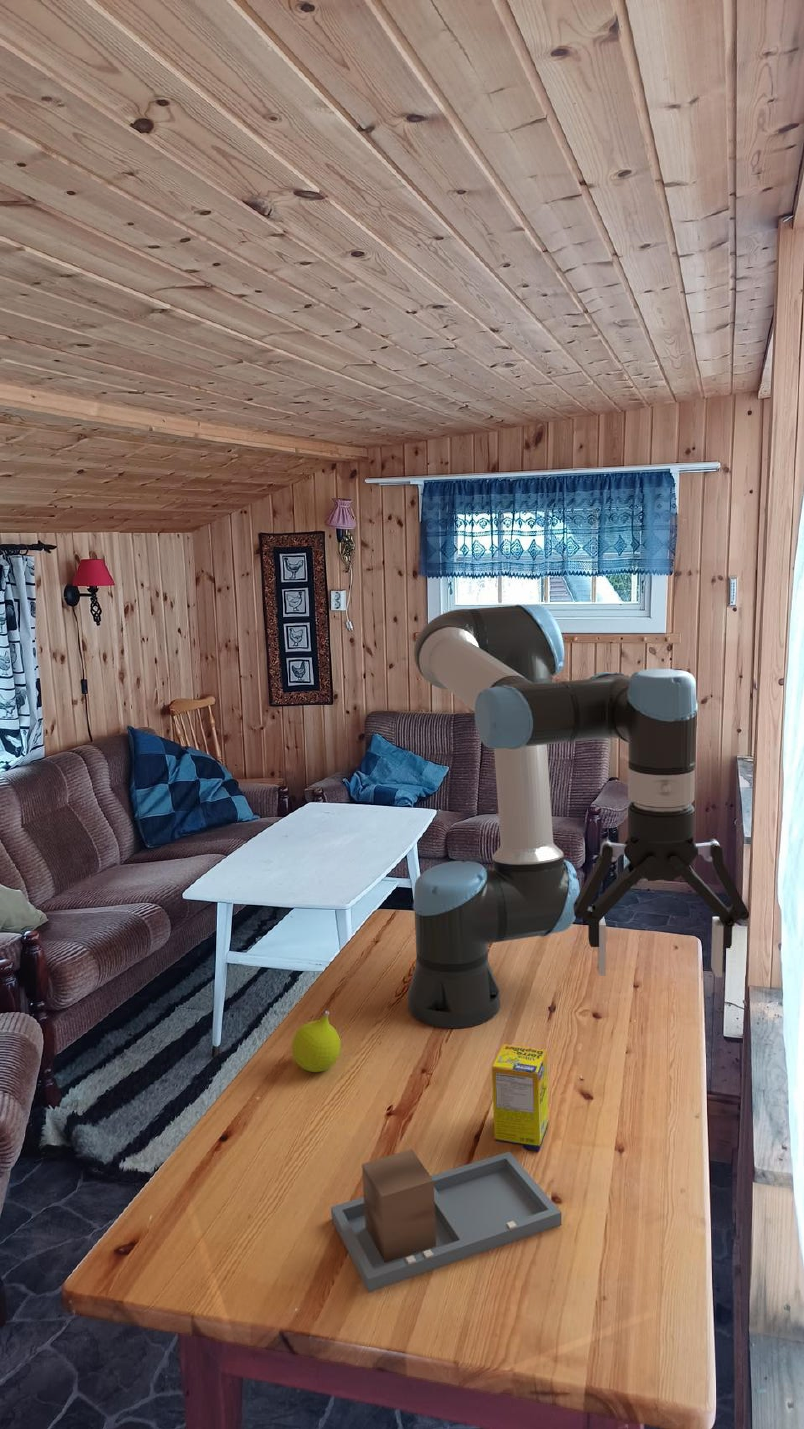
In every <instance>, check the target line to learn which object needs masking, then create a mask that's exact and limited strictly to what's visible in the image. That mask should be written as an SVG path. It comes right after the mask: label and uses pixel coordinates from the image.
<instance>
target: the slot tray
mask: <svg viewBox="0 0 804 1429" xmlns="http://www.w3.org/2000/svg"><path fill="white" fill-rule="evenodd" d="M430 1176H431V1177H432V1179H433V1180H434V1203H435V1228H436V1246H434V1247H431V1248H428V1249H425V1250H422V1251H419V1252H416V1253H413V1254H411V1255H408V1256H405V1257H402V1258H399V1259H396V1260H393V1261H390V1262H387V1263H385V1262H384V1260H383V1258H382V1257H381V1255H380V1253H379V1251H378V1249H377V1247H376V1246H375V1244H374V1242H373V1240H372V1238H371V1236H370V1235H369V1233H368V1231H367V1229H366V1226H365V1208H364V1196H362V1197H359V1198H356V1199H353V1200H350V1201H346V1202H343V1203H340V1204H337V1205H334V1206H330V1208H331V1209H330V1211H331V1221H332V1223H333V1225H334V1227H335V1229H336V1231H337V1232H338V1235H339V1237H340V1238H341V1241H342V1242H343V1244H344V1246H345V1248H346V1250H347V1253H348V1254H349V1256H350V1258H351V1260H352V1262H353V1264H354V1266H355V1268H356V1270H357V1272H358V1274H359V1276H360V1278H361V1279H362V1281H363V1283H364V1286H365V1288H366V1290H367V1292H368V1293H371V1292H374V1291H377V1290H379V1289H382V1288H385V1287H388V1286H391V1285H393V1284H397V1283H399V1282H402V1281H406V1280H408V1279H411V1278H413V1277H417V1276H419V1275H423V1274H425V1273H428V1272H431V1271H433V1270H436V1269H440V1268H442V1267H444V1266H448V1265H451V1264H453V1263H456V1262H460V1261H463V1260H465V1259H469V1258H470V1257H474V1256H476V1255H479V1254H482V1253H484V1252H489V1251H491V1250H493V1249H496V1248H499V1247H501V1246H505V1245H508V1244H510V1243H513V1242H516V1241H519V1240H522V1239H525V1238H527V1237H531V1236H533V1235H536V1234H539V1233H542V1232H544V1231H547V1230H550V1229H554V1228H556V1227H559V1226H561V1225H562V1211H561V1210H560V1209H559V1208H558V1206H556V1204H555V1203H554V1202H553V1201H552V1200H551V1198H550V1197H549V1196H548V1195H547V1194H546V1193H545V1191H544V1190H543V1189H542V1188H541V1187H540V1185H538V1183H537V1182H536V1181H535V1180H534V1178H533V1177H532V1176H531V1175H530V1174H529V1173H528V1171H527V1170H526V1169H525V1168H524V1166H522V1164H521V1163H520V1162H519V1161H518V1160H517V1158H515V1156H514V1155H513V1154H512V1152H511V1151H507V1152H503V1153H500V1154H496V1155H494V1156H490V1157H487V1158H483V1159H481V1160H478V1161H475V1162H470V1163H468V1164H465V1165H461V1166H459V1167H456V1168H452V1169H449V1170H445V1171H441V1172H439V1173H436V1174H433V1175H430Z"/></svg>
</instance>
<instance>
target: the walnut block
mask: <svg viewBox="0 0 804 1429" xmlns="http://www.w3.org/2000/svg"><path fill="white" fill-rule="evenodd" d="M361 1167H362V1169H361V1170H362V1171H361V1172H362V1185H363V1187H362V1188H363V1197H364V1208H365V1226H366V1229H367V1231H368V1233H369V1235H370V1236H371V1238H372V1240H373V1242H374V1244H375V1246H376V1247H377V1249H378V1251H379V1253H380V1255H381V1257H382V1258H383V1260H384V1262H385V1263H387V1262H390V1261H393V1260H396V1259H399V1258H402V1257H405V1256H408V1255H411V1254H413V1253H416V1252H419V1251H422V1250H425V1249H428V1248H431V1247H434V1246H436V1228H435V1203H434V1180H433V1179H432V1177H431V1176H432V1175H430V1174H429V1171H428V1170H427V1169H426V1167H425V1165H424V1164H423V1163H422V1162H421V1161H420V1158H418V1156H417V1155H416V1153H415V1151H414V1150H413V1149H407V1150H404V1151H400V1152H398V1153H392V1154H390V1155H387V1156H384V1157H381V1158H378V1159H374V1160H370V1161H367V1162H363V1163H361Z"/></svg>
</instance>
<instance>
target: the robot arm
mask: <svg viewBox="0 0 804 1429" xmlns="http://www.w3.org/2000/svg"><path fill="white" fill-rule="evenodd" d="M563 640H564V639H563V635H562V632H561V629H560V627H559V624H558V622H557V620H556V618H554V615H553V614H552V613H551V612H550V611H549V610H548V609H547V608H546V607H544V606H541V605H533V604H532V605H531V604H530V605H529V604H527V605H525V604H516V605H506V606H504V605H503V606H492V607H479V608H460V609H458V608H457V609H454V610H451V611H447V612H444V613H441V614H440V615H438V616H436V617H435V618H433V619H432V620H431V621H429V622H428V623H427V624H426V625H425V626H424V627H423V628H422V630H421V631H420V633H419V634H418V636H417V638H416V641H415V643H414V648H413V658H414V664H415V666H416V669H417V670H418V672H419V674H420V675H421V676H422V677H423V678H424V680H426V681H427V682H428V683H429V684H431V685H432V686H434V687H436V688H439V689H443V690H448V691H449V692H451V693H452V694H453V695H454V696H456V697H457V698H458V699H459V700H460V701H461V702H462V703H463V704H465V705H466V706H467V707H469V708H470V709H471V710H472V711H473V712H474V720H475V721H474V722H475V729H476V731H477V734H478V735H479V738H480V741H481V743H482V744H483V746H485V747H487V748H489V749H493V752H494V754H493V755H494V764H495V765H494V766H495V779H496V780H495V781H496V794H497V796H496V798H497V807H498V808H497V810H498V823H499V824H498V827H499V837H500V839H499V840H500V845H499V848H498V849H497V850H496V851H495V852H494V853H493V854H492V856H491V857H492V859H491V860H492V869H485V867H484V866H483V865H482V864H481V863H479V862H476V861H470V860H466V861H462V860H454V861H453V860H452V861H447V862H444V863H439V864H437V865H434V866H432V867H430V868H428V869H426V870H424V871H423V872H422V873H421V874H420V875H418V877H417V878H416V880H415V883H414V886H413V887H414V890H413V891H414V892H413V903H412V909H413V911H414V927H415V929H414V931H415V949H416V950H415V952H416V963H415V964H416V965H415V967H414V970H413V974H412V976H411V977H412V978H411V980H410V984H409V987H408V991H407V1009H408V1012H409V1013H410V1015H411V1016H412V1017H413V1018H414V1019H415V1020H417V1021H419V1022H421V1023H423V1024H426V1025H428V1026H431V1027H432V1026H433V1027H436V1028H437V1027H438V1028H447V1029H460V1028H467V1027H473V1026H477V1025H481V1024H483V1023H485V1022H487V1021H489V1020H491V1019H492V1018H494V1017H495V1016H496V1015H497V1013H498V1012H499V1011H500V1008H501V996H500V989H499V986H498V984H497V982H496V978H495V976H494V972H493V971H492V968H491V965H490V961H489V950H488V949H489V948H488V947H489V944H493V943H500V942H501V943H502V942H509V941H515V940H521V939H528V938H533V937H534V938H535V937H541V938H542V937H547V936H549V935H552V934H559V933H562V932H564V931H566V930H567V931H568V929H569V928H570V927H571V926H572V925H573V923H574V922H575V920H576V919H577V920H580V919H583V920H586V922H588V924H587V925H588V926H587V927H588V931H587V932H588V938H587V939H588V943H589V946H590V948H597V970H598V975H599V976H604V977H605V976H607V972H606V971H607V967H606V966H607V957H606V956H607V924H606V919H605V916H606V915H607V914H608V913H609V912H610V911H611V910H612V909H613V908H614V906H615V905H616V904H617V903H618V902H619V901H620V900H621V899H622V897H623V896H625V894H626V893H627V892H628V891H629V890H630V889H631V888H632V887H633V886H636V884H638V883H639V881H640V880H641V879H642V878H643V879H645V880H647V882H655V881H659V880H662V881H666V882H675V880H678V879H679V878H681V877H682V879H683V880H684V882H686V884H688V885H689V886H690V887H691V888H692V889H693V890H694V891H695V892H696V894H697V895H698V896H699V897H700V898H701V899H702V901H703V902H704V903H705V904H706V906H708V908H710V909H711V910H712V912H713V913H714V914H715V915H716V916H712V918H711V919H712V921H711V922H712V923H711V957H710V958H711V959H710V960H711V961H710V963H711V964H710V967H711V969H712V973H713V974H714V976H715V978H723V959H724V958H723V957H724V955H723V954H724V949H731V947H732V946H733V927H734V926H735V925H736V921H739V920H743V921H746V920H748V919H749V917H750V912H749V910H748V908H747V907H746V905H745V903H744V901H743V898H742V897H741V895H740V893H739V891H738V889H737V887H736V884H735V883H734V881H733V879H732V877H731V875H730V873H729V872H728V870H727V867H726V866H725V863H724V856H723V848H722V846H721V845H720V843H719V842H718V840H717V839H715V838H710V839H708V841H707V842H701V843H696V842H695V806H693V805H692V803H693V802H694V801H695V799H696V798H695V793H696V792H695V790H696V789H695V788H696V787H695V786H696V785H695V784H696V781H695V778H696V775H695V774H696V772H695V770H696V767H695V766H696V750H697V747H696V746H697V745H696V744H697V721H698V711H699V704H698V701H697V687H696V686H697V683H696V679H695V677H694V676H693V674H691V673H690V672H688V671H686V670H685V671H684V670H680V669H678V670H677V669H672V668H650V669H649V668H647V669H641V670H637V671H635V672H634V673H633V674H631V676H630V675H628V674H627V675H625V674H623V673H620V672H608V671H605V672H604V671H603V672H598V673H596V674H594V675H593V676H590V677H589V678H586V679H576V680H575V679H574V680H564V681H553V677H555V676H556V675H558V674H559V673H560V672H561V671H562V670H563V667H564V660H565V648H564V647H565V645H564V641H563ZM613 738H615V739H620V740H622V741H624V742H626V743H627V744H628V761H627V762H628V772H627V773H628V774H627V775H628V776H627V777H628V780H627V798H628V800H629V801H630V803H629V804H628V805H627V839H626V841H625V842H624V843H619V842H618V843H617V842H611V840H610V839H608V838H604V839H602V840H601V842H600V847H599V856H598V858H597V860H596V861H595V863H594V865H593V867H592V869H591V871H590V873H589V875H588V876H587V878H586V881H585V882H584V884H583V886H582V887H581V890H580V882H579V879H577V877H578V874H577V871H576V869H575V867H574V865H573V864H572V863H571V862H570V861H569V860H566V859H565V858H564V852H563V850H562V849H560V848H559V847H558V846H557V845H555V843H554V836H553V835H554V834H553V819H552V803H551V802H552V801H551V789H550V775H549V774H550V771H549V758H548V745H555V744H561V743H573V742H584V741H591V740H592V741H593V740H604V739H605V740H606V739H613ZM622 855H624V856H625V857H626V859H627V861H628V863H627V864H626V865H625V867H624V868H623V870H622V872H621V873H620V874H619V875H618V876H617V877H616V878H615V879H614V881H612V882H611V884H610V885H609V886H608V887H607V888H606V889H605V890H604V892H603V893H602V894H600V896H599V897H598V898H597V899H596V900H595V901H594V902H593V900H594V899H595V897H596V895H597V893H598V892H599V889H600V887H601V885H602V884H603V882H604V880H605V878H606V876H607V875H608V873H609V871H610V868H611V865H612V863H614V862H616V861H617V860H618V859H619V857H620V856H622ZM698 855H700V856H702V857H703V860H704V861H705V862H710V864H711V865H712V868H713V870H714V871H715V873H716V876H717V877H718V879H719V882H720V883H721V885H722V887H723V889H724V891H725V893H726V895H727V897H728V899H729V901H730V903H731V905H732V906H729V907H727V906H726V905H725V904H724V903H723V902H722V901H721V899H719V897H718V896H717V895H716V893H714V891H712V889H711V888H710V887H709V886H708V885H707V883H705V882H704V881H703V880H702V878H701V877H700V876H699V875H698V873H697V872H695V870H694V869H693V868H692V866H691V865H692V863H693V862H694V861H695V859H696V858H698V857H697V856H698ZM592 902H593V903H592Z"/></svg>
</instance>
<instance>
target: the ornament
mask: <svg viewBox="0 0 804 1429" xmlns="http://www.w3.org/2000/svg"><path fill="white" fill-rule="evenodd" d="M329 1015H330V1012H329V1010H325V1012H324V1014H323V1016H322V1017H321V1018H320V1019H318V1020H313V1021H309V1022H306V1023H305V1024H303V1025H301V1027H299V1029H297V1031H296V1032H295V1034H294V1037H293V1039H292V1043H291V1052H292V1056H293V1058H294V1060H295V1062H296V1063H297V1064H298V1066H299V1067H300V1068H302V1069H303V1070H305V1071H308V1072H310V1073H311V1072H312V1073H320V1072H324V1071H327V1070H329V1069H330V1068H331V1067H332V1066H334V1064H335V1063H336V1062H337V1060H338V1059H339V1056H340V1053H341V1047H342V1046H341V1038H340V1036H339V1033H338V1032H337V1030H336V1029H335V1028H334V1027H333V1026H332V1024H330V1021H329Z"/></svg>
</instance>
